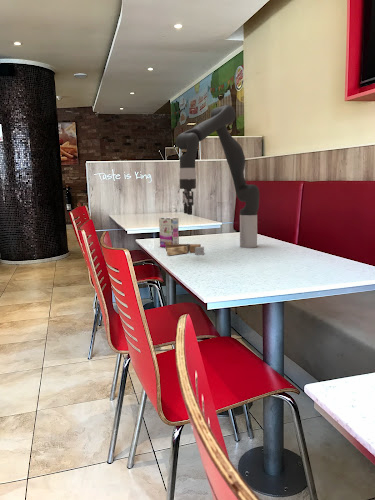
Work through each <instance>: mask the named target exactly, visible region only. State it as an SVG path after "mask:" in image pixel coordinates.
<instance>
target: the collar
mask: <svg viewBox="0 0 375 500" xmlns="http://www.w3.org/2000/svg"><path fill="white" fill-rule="evenodd" d="M194 254H195V256H202V255H203V256H204V255H205V246H201V247H196V248H195V253H194Z"/></svg>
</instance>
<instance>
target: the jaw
mask: <svg viewBox="0 0 375 500" xmlns="http://www.w3.org/2000/svg"><path fill="white" fill-rule="evenodd" d="M182 254H189V253H188V248H187V246H182V247H174V248H167V251H166V256H174V255H182Z"/></svg>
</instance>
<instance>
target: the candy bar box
mask: <svg viewBox="0 0 375 500" xmlns="http://www.w3.org/2000/svg"><path fill="white" fill-rule="evenodd" d="M158 220H159V221H158V222H159V225H158V226H159V247H160V248H165V249H166V244H179V243H180V242H179V241H180V240H179V237H180V236H179V235H180V234H179V232H180V231H179V230H180V229H179V217H159V219H158Z"/></svg>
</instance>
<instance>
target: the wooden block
mask: <svg viewBox="0 0 375 500" xmlns="http://www.w3.org/2000/svg"><path fill="white" fill-rule="evenodd" d="M201 245H202V244H201V243H198V244H197V243H192V244H191V243H180V244H166V248H165V252H167V248H174V247H182V246H187V248H188V253H187V254H189V253H190V254H191V253H193V254H195V248H196V247H202V246H201Z"/></svg>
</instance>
